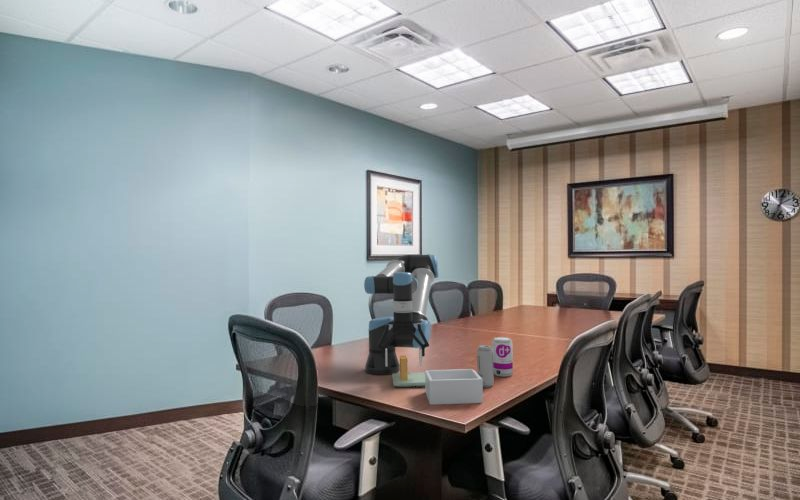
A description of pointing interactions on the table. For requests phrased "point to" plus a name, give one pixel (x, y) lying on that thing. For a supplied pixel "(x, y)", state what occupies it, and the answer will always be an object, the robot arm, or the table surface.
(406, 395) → the table surface
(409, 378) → the lid
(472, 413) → the table surface
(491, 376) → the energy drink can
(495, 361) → the supplement can
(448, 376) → the tub
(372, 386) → the table surface
